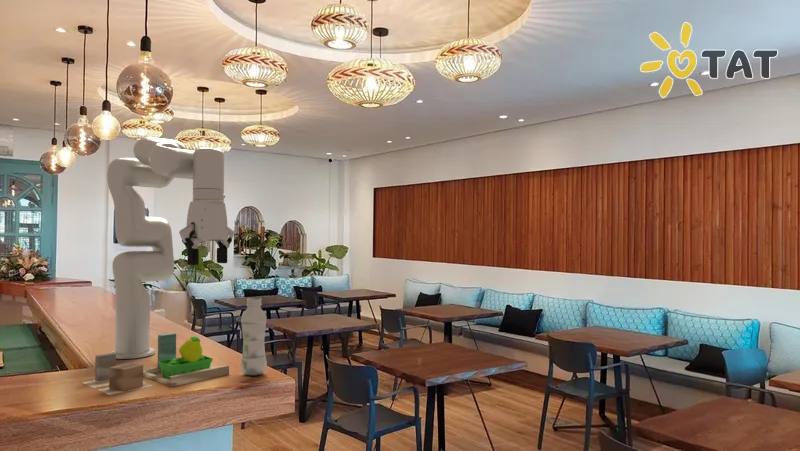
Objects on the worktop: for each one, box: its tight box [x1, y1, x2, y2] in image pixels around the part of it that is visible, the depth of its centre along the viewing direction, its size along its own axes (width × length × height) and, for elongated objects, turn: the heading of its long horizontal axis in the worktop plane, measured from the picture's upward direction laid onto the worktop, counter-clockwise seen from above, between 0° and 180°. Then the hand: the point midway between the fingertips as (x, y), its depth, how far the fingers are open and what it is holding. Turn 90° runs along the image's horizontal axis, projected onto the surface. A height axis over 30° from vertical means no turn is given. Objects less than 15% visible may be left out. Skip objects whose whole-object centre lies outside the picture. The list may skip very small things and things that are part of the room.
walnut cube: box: [108, 362, 144, 393], centre depth 127 cm, size 5×5×5 cm
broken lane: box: [82, 352, 154, 396], centre depth 130 cm, size 16×10×7 cm, turn 50°
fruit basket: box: [157, 336, 213, 379], centre depth 139 cm, size 11×9×11 cm
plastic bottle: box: [240, 297, 268, 377], centre depth 144 cm, size 6×7×20 cm
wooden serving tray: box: [143, 332, 230, 387], centre depth 140 cm, size 18×15×10 cm
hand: (207, 263), depth 140 cm, fingers open, 9 cm apart
